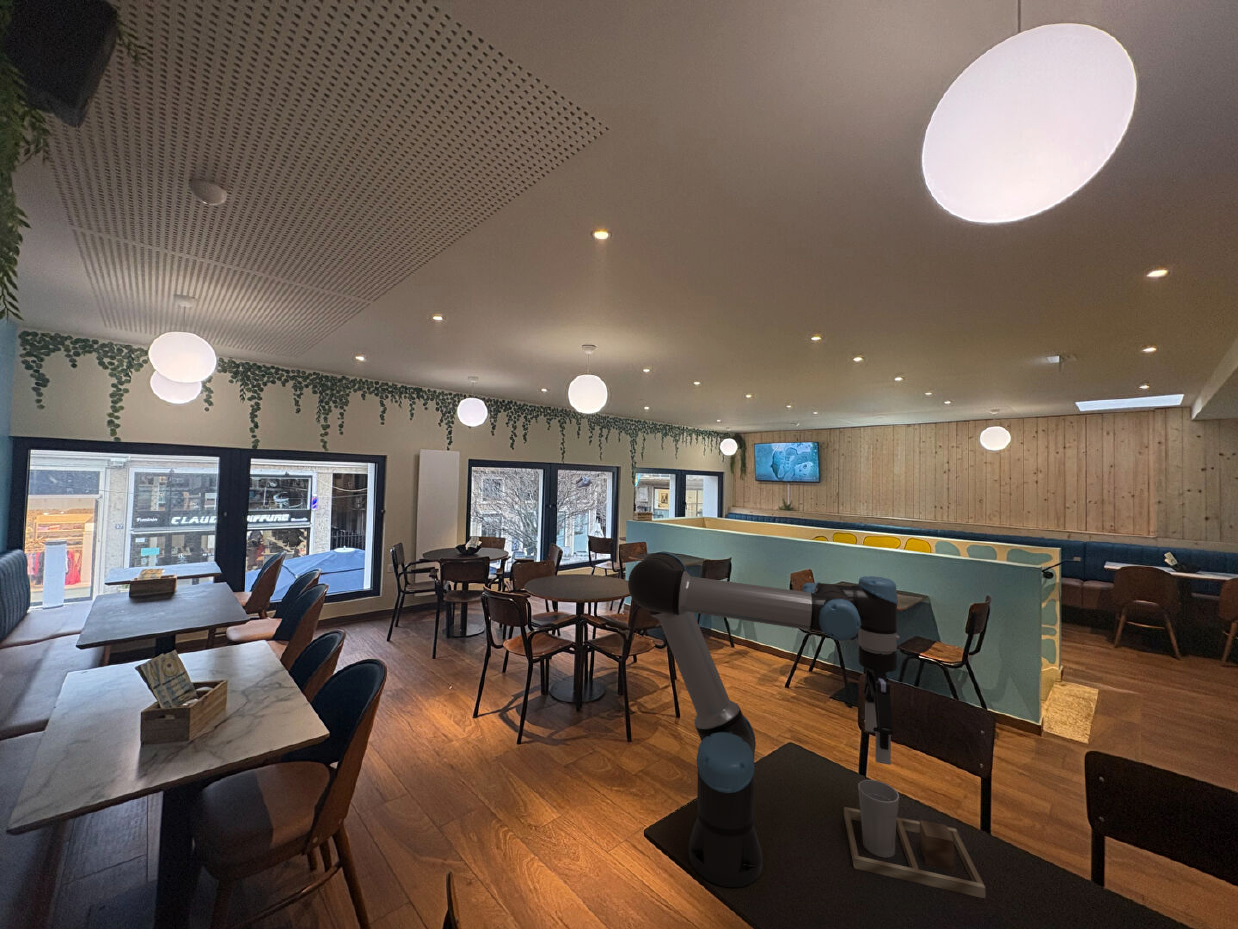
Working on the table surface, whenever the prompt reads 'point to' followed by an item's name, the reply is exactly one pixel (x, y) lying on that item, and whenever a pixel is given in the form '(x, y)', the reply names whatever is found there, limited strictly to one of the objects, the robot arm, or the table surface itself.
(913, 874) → the frame
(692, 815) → the table surface
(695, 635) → the robot arm
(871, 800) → the cup
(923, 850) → the walnut block
